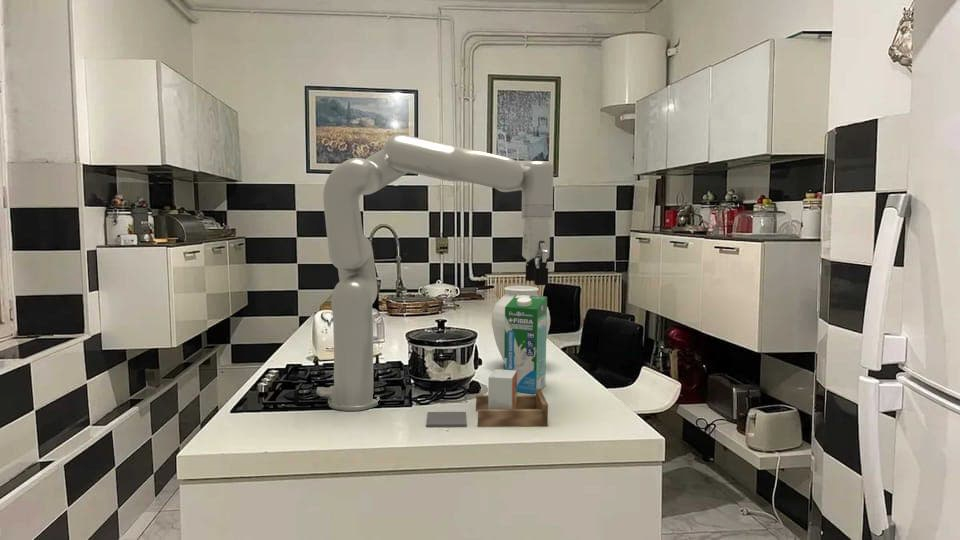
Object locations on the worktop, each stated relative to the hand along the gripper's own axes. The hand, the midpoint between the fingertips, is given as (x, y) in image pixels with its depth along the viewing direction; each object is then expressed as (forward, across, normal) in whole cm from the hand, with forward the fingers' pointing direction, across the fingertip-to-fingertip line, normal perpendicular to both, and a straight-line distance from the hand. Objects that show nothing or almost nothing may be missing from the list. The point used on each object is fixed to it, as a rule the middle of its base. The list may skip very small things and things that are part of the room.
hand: (536, 282), depth 158 cm
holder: (+30, +10, -8) cm, 33 cm away
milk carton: (+31, -15, +1) cm, 34 cm away
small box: (+31, +9, -10) cm, 34 cm away
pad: (+30, +10, -23) cm, 39 cm away
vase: (+31, -36, +4) cm, 48 cm away
